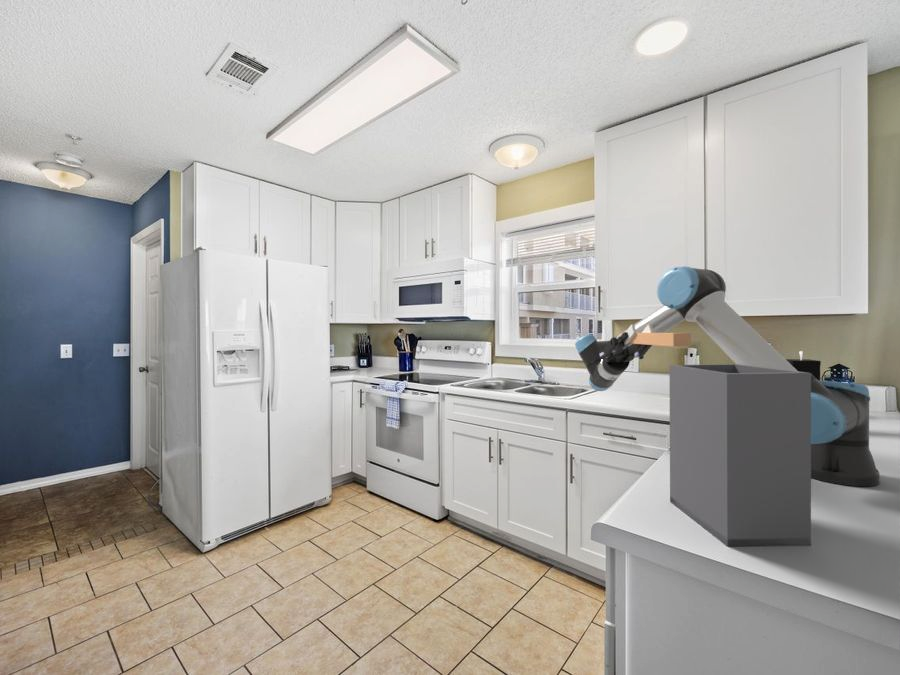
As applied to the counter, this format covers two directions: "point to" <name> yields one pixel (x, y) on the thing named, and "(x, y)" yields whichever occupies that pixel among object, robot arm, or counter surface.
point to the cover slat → (662, 339)
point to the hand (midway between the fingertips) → (642, 328)
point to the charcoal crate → (742, 452)
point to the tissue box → (806, 365)
